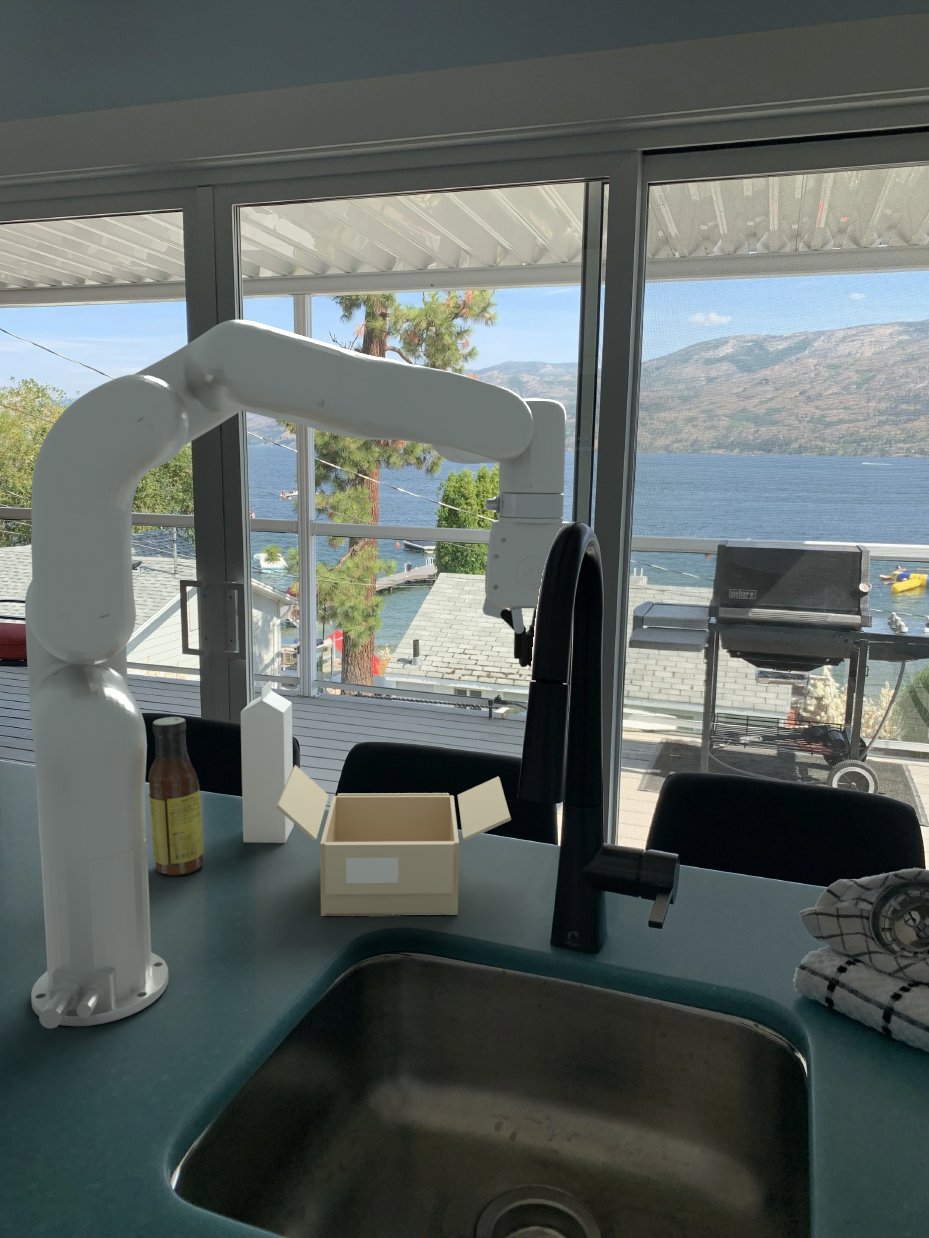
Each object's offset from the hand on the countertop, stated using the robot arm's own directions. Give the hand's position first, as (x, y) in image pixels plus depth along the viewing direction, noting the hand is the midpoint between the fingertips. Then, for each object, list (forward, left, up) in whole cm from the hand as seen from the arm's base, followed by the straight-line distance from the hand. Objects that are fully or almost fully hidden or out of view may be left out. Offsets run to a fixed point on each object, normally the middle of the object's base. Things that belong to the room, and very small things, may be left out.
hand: (526, 664), depth 108 cm
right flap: (+3, +5, -19) cm, 19 cm away
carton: (+3, +16, -29) cm, 33 cm away
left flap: (+3, +27, -18) cm, 32 cm away
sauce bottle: (+9, +44, -29) cm, 54 cm away
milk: (+20, +34, -29) cm, 49 cm away
